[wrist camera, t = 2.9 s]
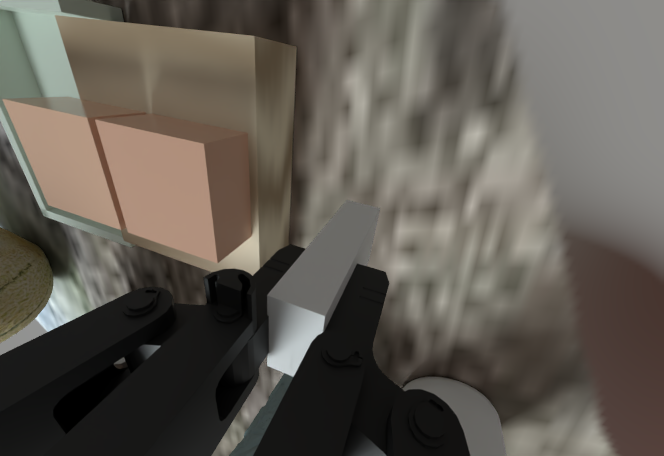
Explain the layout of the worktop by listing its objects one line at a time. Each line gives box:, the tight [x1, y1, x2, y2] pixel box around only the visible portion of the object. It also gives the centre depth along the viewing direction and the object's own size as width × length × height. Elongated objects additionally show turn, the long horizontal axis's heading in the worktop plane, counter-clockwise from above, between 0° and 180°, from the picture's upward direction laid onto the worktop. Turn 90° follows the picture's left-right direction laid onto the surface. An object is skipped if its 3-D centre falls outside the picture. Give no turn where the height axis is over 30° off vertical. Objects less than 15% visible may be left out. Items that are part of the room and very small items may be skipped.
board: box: [55, 15, 297, 276], centre depth 18 cm, size 14×12×4 cm
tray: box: [0, 0, 136, 248], centre depth 21 cm, size 16×10×4 cm, turn 173°
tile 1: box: [95, 114, 252, 263], centre depth 15 cm, size 6×6×3 cm
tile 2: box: [2, 97, 146, 230], centre depth 16 cm, size 6×6×3 cm
